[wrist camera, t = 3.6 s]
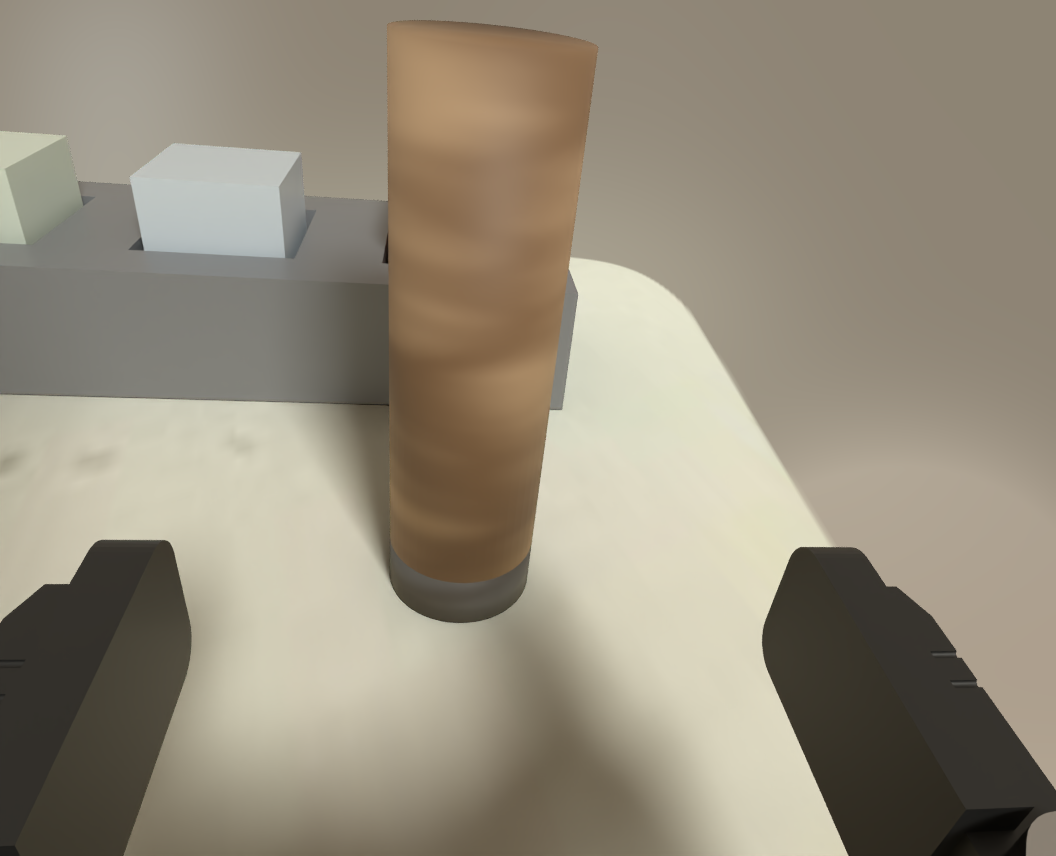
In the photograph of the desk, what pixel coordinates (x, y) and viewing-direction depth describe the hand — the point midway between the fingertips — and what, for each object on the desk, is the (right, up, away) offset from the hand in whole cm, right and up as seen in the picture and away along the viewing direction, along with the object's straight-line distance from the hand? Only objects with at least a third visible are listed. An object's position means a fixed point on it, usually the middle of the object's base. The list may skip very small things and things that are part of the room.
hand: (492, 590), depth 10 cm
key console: (-12, +6, +22) cm, 26 cm away
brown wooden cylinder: (-2, -2, +12) cm, 12 cm away
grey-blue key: (-12, +8, +21) cm, 25 cm away
